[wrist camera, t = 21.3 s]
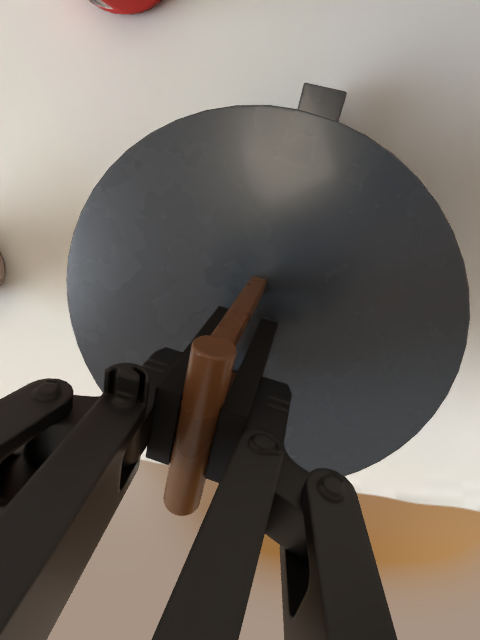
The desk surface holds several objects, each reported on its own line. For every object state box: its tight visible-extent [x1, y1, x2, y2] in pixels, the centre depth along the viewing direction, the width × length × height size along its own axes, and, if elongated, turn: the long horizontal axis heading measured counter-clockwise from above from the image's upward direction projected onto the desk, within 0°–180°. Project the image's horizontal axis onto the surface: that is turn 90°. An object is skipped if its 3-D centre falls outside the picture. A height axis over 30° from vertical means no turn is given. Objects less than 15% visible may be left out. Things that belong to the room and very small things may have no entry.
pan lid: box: [67, 105, 470, 516], centre depth 14 cm, size 19×19×9 cm
